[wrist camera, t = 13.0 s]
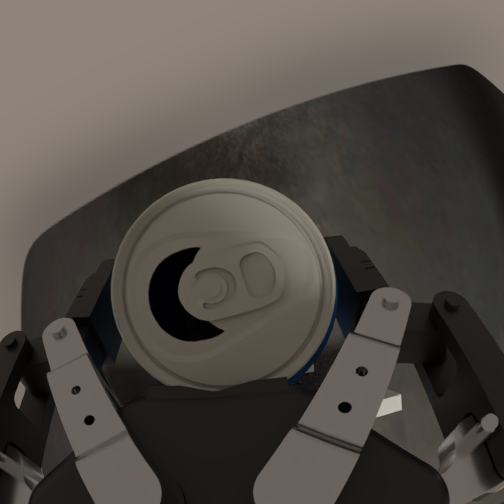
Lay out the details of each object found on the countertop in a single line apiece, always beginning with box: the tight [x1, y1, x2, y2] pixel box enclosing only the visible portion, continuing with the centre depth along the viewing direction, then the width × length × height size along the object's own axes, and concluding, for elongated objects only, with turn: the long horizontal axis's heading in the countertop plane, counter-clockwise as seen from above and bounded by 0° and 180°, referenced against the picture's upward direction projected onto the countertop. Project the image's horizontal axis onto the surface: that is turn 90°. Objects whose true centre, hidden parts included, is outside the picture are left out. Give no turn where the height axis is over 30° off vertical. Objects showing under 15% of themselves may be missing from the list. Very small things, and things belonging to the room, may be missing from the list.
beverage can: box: [111, 178, 338, 391], centre depth 13 cm, size 6×6×12 cm
